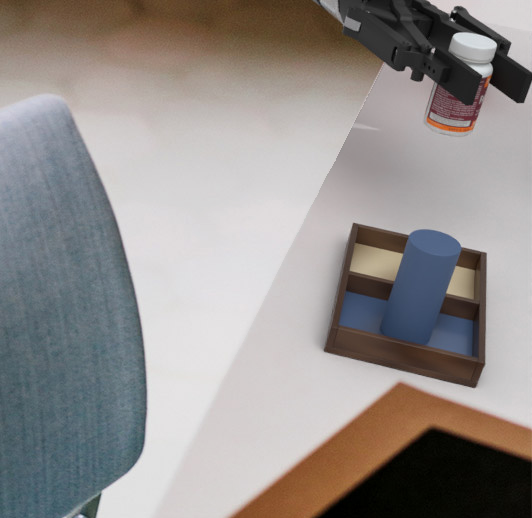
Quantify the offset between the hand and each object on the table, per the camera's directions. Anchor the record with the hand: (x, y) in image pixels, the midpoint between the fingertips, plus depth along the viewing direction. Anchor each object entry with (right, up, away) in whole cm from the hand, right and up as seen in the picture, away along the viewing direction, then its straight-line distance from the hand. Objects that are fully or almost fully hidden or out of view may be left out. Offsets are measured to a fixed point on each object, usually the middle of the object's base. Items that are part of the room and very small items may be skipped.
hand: (499, 89), depth 105 cm
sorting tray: (-7, -19, +4) cm, 21 cm away
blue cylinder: (-8, -21, -1) cm, 23 cm away
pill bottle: (-2, -1, +8) cm, 8 cm away
